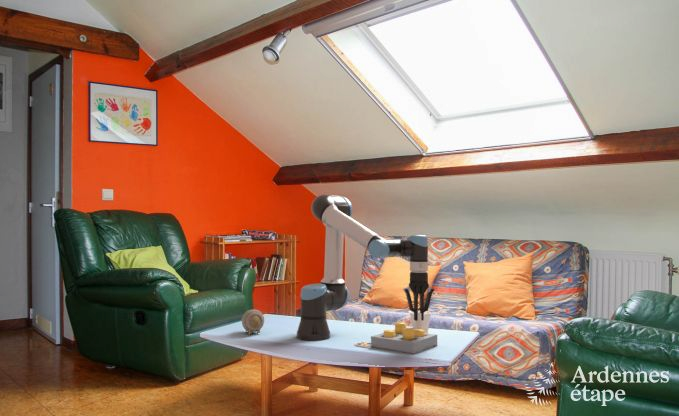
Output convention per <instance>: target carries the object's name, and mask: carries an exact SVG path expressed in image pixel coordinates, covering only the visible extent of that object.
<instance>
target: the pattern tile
mask: <svg viewBox="0 0 679 416" xmlns="http://www.w3.org/2000/svg"><path fill="white" fill-rule="evenodd" d="M354 347H360V348H366V349H368V348H369V347H371V342H366V341H360V342H358V343H354Z"/></svg>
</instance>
